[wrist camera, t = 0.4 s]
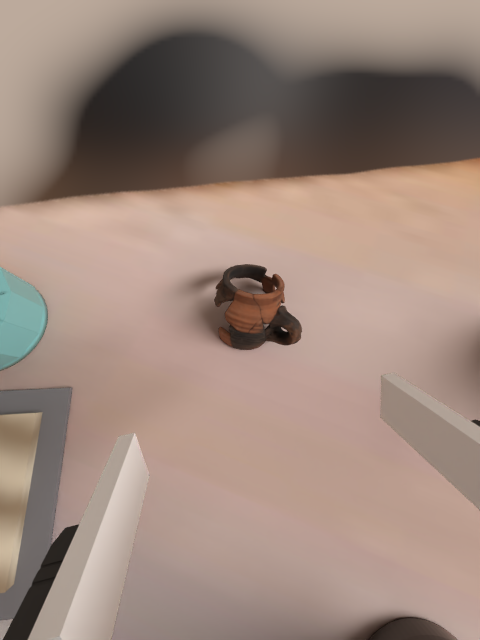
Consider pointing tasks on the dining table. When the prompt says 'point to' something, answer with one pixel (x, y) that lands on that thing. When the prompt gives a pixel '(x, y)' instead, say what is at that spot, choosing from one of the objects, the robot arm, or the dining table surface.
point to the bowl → (19, 318)
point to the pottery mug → (255, 310)
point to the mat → (37, 484)
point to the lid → (15, 486)
